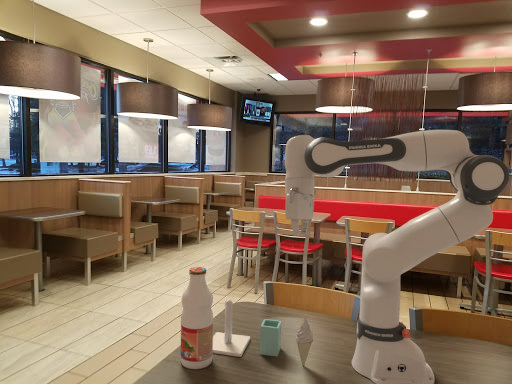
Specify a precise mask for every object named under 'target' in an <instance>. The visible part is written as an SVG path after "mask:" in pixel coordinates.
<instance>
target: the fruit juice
mask: <svg viewBox="0 0 512 384" xmlns="http://www.w3.org/2000/svg"><path fill="white" fill-rule="evenodd" d="M188 275H189V276H190V277H189V281H188V282H189V283H188V285H187V288H185V290H184V291H183V292H182V295H181V306H182V311H181V315H180V363H181V365H182V366H183V367H185V368H186V369H189V370H199V369H204V368H206V367H208V366H210V365H211V363H212V361H213V354H214V353H213V336H214V313H213V309H212V306H213V303H214V295H213V292H212V291H211V289H210V288H209V287H208V285H207V281H206V276H207V268H206V267H202V266H193V267H191V268H189V272H188Z"/></svg>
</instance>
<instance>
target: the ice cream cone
mask: <svg viewBox="0 0 512 384" xmlns="http://www.w3.org/2000/svg"><path fill="white" fill-rule="evenodd" d="M296 332H297V333H296V337H295V341H296V345H297V349H298V353H299V357H300V362H301V365H302V367H305V364H306V361H307V358H308V355H309V352H310V349H311V346H312V343H313V341H314V333H313V330H311V328H310V325H309V322H308V320H307V316H305V317H304V319H303V321H302V323H301V324H300V327H299V330H297V331H296Z"/></svg>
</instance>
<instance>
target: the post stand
mask: <svg viewBox="0 0 512 384" xmlns="http://www.w3.org/2000/svg"><path fill="white" fill-rule="evenodd" d="M250 341H251V336H249V335H243V334H233V301H232V300H231V299H226V300H225V302H224V332H218V331H216V332H215V334H213V354H218V355H223V356H225V355H226V356H230V357H231V356H232V357H240V358H241V357H242V356H243V354H244V352H245V350H246V348H247V346H248V345H249V343H250Z"/></svg>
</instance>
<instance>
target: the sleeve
mask: <svg viewBox="0 0 512 384" xmlns="http://www.w3.org/2000/svg"><path fill="white" fill-rule="evenodd" d="M259 330H260V332H259V333H260V335H259V336H260V338H259V355H263V356H270V357H278V356H279V354H280V351H281V346H282V320H277V319H267V318H263V321H262V323H261V325H260V329H259Z"/></svg>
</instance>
